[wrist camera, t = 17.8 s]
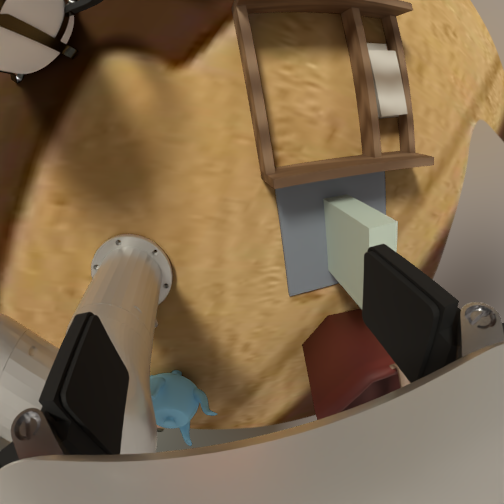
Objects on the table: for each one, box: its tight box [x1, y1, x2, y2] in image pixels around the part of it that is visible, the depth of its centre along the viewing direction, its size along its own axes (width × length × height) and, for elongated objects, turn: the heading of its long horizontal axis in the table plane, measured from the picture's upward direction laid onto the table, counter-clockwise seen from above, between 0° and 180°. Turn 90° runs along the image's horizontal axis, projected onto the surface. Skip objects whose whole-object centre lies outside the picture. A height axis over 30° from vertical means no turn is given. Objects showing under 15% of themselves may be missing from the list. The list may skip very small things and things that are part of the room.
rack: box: [232, 0, 434, 189], centre depth 33 cm, size 25×25×7 cm
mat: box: [275, 171, 386, 296], centre depth 46 cm, size 18×18×1 cm
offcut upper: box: [368, 50, 408, 117], centre depth 35 cm, size 10×5×2 cm, turn 14°
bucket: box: [302, 309, 410, 420], centre depth 45 cm, size 24×22×25 cm
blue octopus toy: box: [150, 370, 217, 446], centre depth 48 cm, size 13×13×10 cm
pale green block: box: [323, 194, 398, 309], centre depth 40 cm, size 12×4×13 cm, turn 10°
